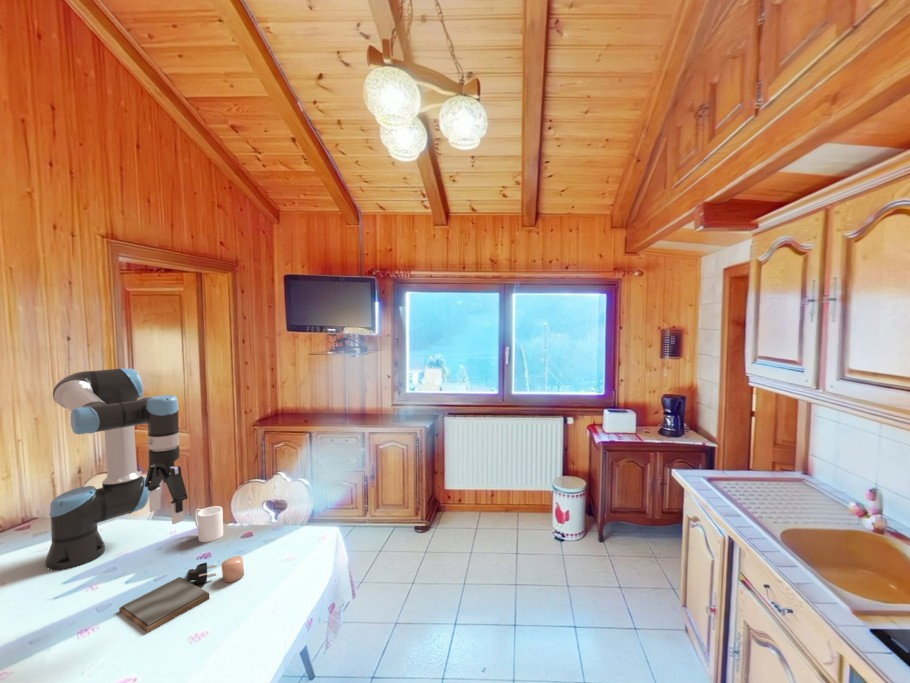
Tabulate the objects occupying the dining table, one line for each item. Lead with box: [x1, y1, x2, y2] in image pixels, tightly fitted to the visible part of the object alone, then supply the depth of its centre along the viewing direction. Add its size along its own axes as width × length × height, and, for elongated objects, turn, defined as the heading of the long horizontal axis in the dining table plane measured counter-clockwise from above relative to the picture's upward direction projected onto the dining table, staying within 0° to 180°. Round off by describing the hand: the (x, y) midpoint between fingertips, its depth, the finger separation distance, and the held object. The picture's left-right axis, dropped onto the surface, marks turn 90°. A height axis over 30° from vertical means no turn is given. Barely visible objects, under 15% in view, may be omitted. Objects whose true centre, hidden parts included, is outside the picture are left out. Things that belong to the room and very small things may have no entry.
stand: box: [119, 576, 210, 634], centre depth 118 cm, size 16×16×2 cm
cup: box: [194, 505, 224, 543], centre depth 158 cm, size 8×12×10 cm
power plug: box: [187, 562, 217, 585], centre depth 132 cm, size 6×8×12 cm
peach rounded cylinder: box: [221, 556, 245, 583], centre depth 132 cm, size 6×6×5 cm
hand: (166, 516), depth 124 cm, fingers open, 13 cm apart
